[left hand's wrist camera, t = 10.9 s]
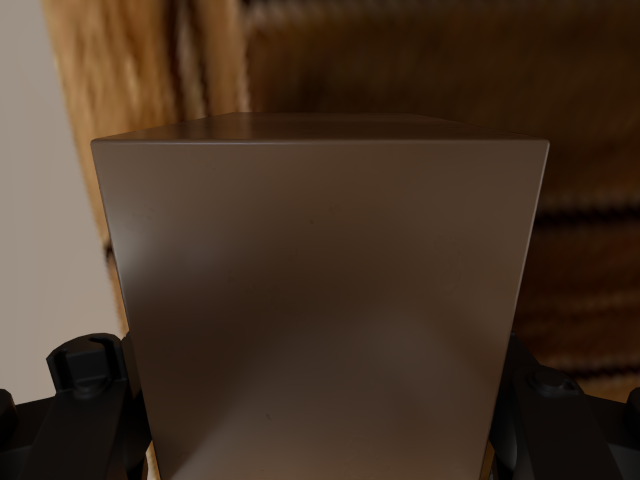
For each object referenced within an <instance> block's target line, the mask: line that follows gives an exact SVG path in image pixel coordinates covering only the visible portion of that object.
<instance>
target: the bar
mask: <svg viewBox="0 0 640 480" xmlns="http://www.w3.org/2000/svg"><path fill="white" fill-rule="evenodd" d="M90 145H91V150H92V155H93V159H94V164H95V169H96V174H97V178H98V183H99V188H100V193H101V198H102V202H103V207H104V212H105V217H106V221H107V226H108V231H109V236H110V240H111V245H112V250H113V255H114V260H115V264H116V269H117V274H118V279H119V283H120V288H121V293H122V298H123V302H124V307H125V312H126V317H127V322H128V326H129V331H130V336H131V341H132V345H133V350H134V355H135V360H136V364H137V369H138V374H139V379H140V384H141V388H142V393H143V398H144V403H145V407H146V412H147V417H148V422H149V426H150V431H151V436H152V441H153V446H154V450H155V455H156V460H157V465H158V469H159V474H160V479H161V480H480V476H481V472H482V467H483V462H484V457H485V452H486V448H487V443H488V438H489V433H490V429H491V424H492V419H493V414H494V410H495V405H496V400H497V395H498V390H499V386H500V381H501V376H502V371H503V367H504V362H505V357H506V352H507V348H508V343H509V338H510V333H511V328H512V324H513V319H514V314H515V309H516V305H517V300H518V295H519V290H520V285H521V281H522V276H523V271H524V266H525V262H526V257H527V252H528V247H529V243H530V238H531V233H532V228H533V223H534V219H535V214H536V209H537V204H538V200H539V195H540V190H541V185H542V180H543V176H544V171H545V166H546V161H547V157H548V152H549V147H550V141H549V140H547V139H544V138H539V137H534V136H528V135H523V134H518V133H513V132H507V131H502V130H497V129H492V128H487V127H481V126H476V125H471V124H466V123H460V122H455V121H450V120H445V119H440V118H434V117H429V116H424V115H419V114H413V113H408V112H232V113H227V114H222V115H217V116H211V117H206V118H201V119H196V120H191V121H185V122H180V123H175V124H170V125H165V126H159V127H154V128H149V129H144V130H139V131H133V132H128V133H123V134H118V135H113V136H107V137H102V138H97V139H94V140H92V141H91V144H90Z"/></svg>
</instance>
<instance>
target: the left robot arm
mask: <svg viewBox="0 0 640 480" xmlns="http://www.w3.org/2000/svg"><path fill="white" fill-rule="evenodd" d="M46 361H47V364H48V367H49V370H50V373H51V377H52V380H53V383H54V386H55V389H56V394H55V396H53V397H50V398H46V399H41V400H36V401H32V402H28V403H23V404H18V405H15V404H14V401H13V398H12V396H11V394H10V393H9V392H8V391H6V390H5V389H0V480H147V476H148V463H147V457H146V451H147V449H148V447H149V445H150V443H151V441H152V436H151V431H150V426H149V422H148V417H147V412H146V407H145V403H144V398H143V393H142V388H141V384H140V379H139V374H138V369H137V364H136V360H135V355H134V350H133V345H132V341H131V336H130V331H129V332H128V333H127V334H126V337H124V338H123V339H122V340H120V339H119V338H118V337H117V336H115V335H113V334H108V333H94V334H88V335H85V336H80V337H77V338H75V339H72V340H70V341H68V342H65V343H64V344H62V345H61V346H59V347H57V348H56V349H54V350H53V351H52V352H51V353H50V355H49V356H48V357H47V358H46ZM489 440H490V442H491V444H492V446H493V448H494V450H495V453H494V457H493V462H492V466H491V471H490V475H489V480H640V387H637V388H635V389H634V390H632V391H631V392H630V394H629V397H628V400H627V402H626V403H621V402H616V401H612V400H607V399H603V398H598V397H593V396H590V395H586V394H584V392H583V390H582V389H581V388H580V386H579V385H578V384H577V383H576V382H575V381H574V380H573V379H571V378H570V377H569V376H567V375H566V374H564V373H562V372H560V371H558V370H556V369H554V368H550V367H546V366H543V365H540V364H539V363H538V361H537V360H536V359H535V358H534V356H533V355H532V354H531V353H530V352H529V350H528V349H527V348H526V347H525V345H524V344H523V343H522V342H521V340H520V339H519V338H518V337H517V336H515V333H514V332H513V331H512V329H511V333H510V338H509V343H508V348H507V352H506V357H505V362H504V367H503V371H502V376H501V381H500V386H499V390H498V395H497V400H496V405H495V410H494V414H493V419H492V424H491V429H490V433H489Z"/></svg>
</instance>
